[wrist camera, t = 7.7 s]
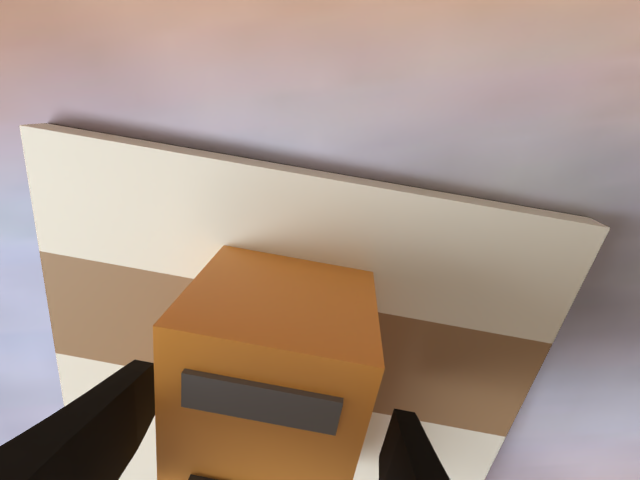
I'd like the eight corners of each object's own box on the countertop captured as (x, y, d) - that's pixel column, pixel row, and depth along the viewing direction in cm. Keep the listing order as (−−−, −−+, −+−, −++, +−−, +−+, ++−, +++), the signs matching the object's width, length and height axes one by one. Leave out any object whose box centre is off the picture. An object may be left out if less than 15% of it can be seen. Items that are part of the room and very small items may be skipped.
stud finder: (373, 271, 12) (385, 377, 7) (328, 458, 15) (318, 608, 11) (223, 245, 12) (146, 333, 7) (212, 436, 15) (155, 575, 11)
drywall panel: (589, 217, 11) (610, 227, 10) (409, 598, 20) (412, 622, 19) (45, 123, 12) (19, 125, 11) (100, 538, 20) (88, 558, 19)
